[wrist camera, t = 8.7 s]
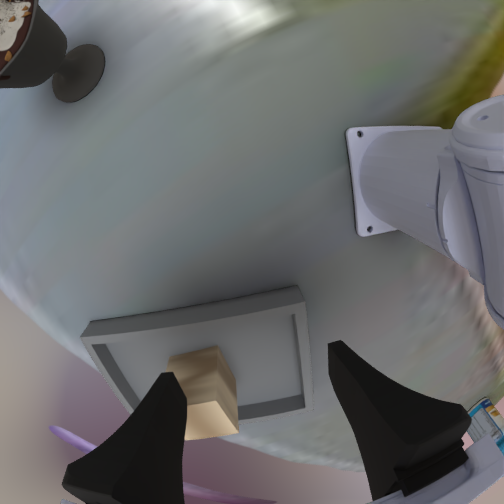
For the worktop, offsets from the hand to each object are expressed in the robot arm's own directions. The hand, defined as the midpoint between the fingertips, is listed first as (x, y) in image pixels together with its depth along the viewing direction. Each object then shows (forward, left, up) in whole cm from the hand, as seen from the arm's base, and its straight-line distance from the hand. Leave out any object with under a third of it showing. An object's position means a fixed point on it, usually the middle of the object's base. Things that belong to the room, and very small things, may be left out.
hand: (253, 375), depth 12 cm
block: (+5, +7, -9) cm, 12 cm away
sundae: (+9, -19, -10) cm, 23 cm away
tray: (+5, +8, -9) cm, 13 cm away
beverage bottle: (-42, +44, -10) cm, 62 cm away
